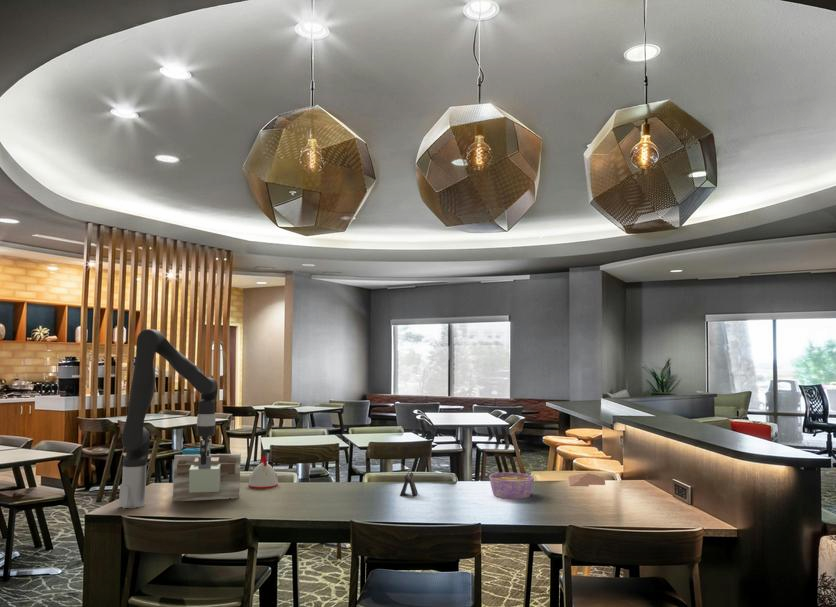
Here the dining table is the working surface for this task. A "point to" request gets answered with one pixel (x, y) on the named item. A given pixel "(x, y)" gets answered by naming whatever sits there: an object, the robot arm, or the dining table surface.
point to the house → (586, 480)
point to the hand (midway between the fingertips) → (204, 462)
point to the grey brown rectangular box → (227, 478)
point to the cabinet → (205, 475)
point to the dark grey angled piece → (412, 485)
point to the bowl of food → (511, 485)
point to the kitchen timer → (263, 476)
